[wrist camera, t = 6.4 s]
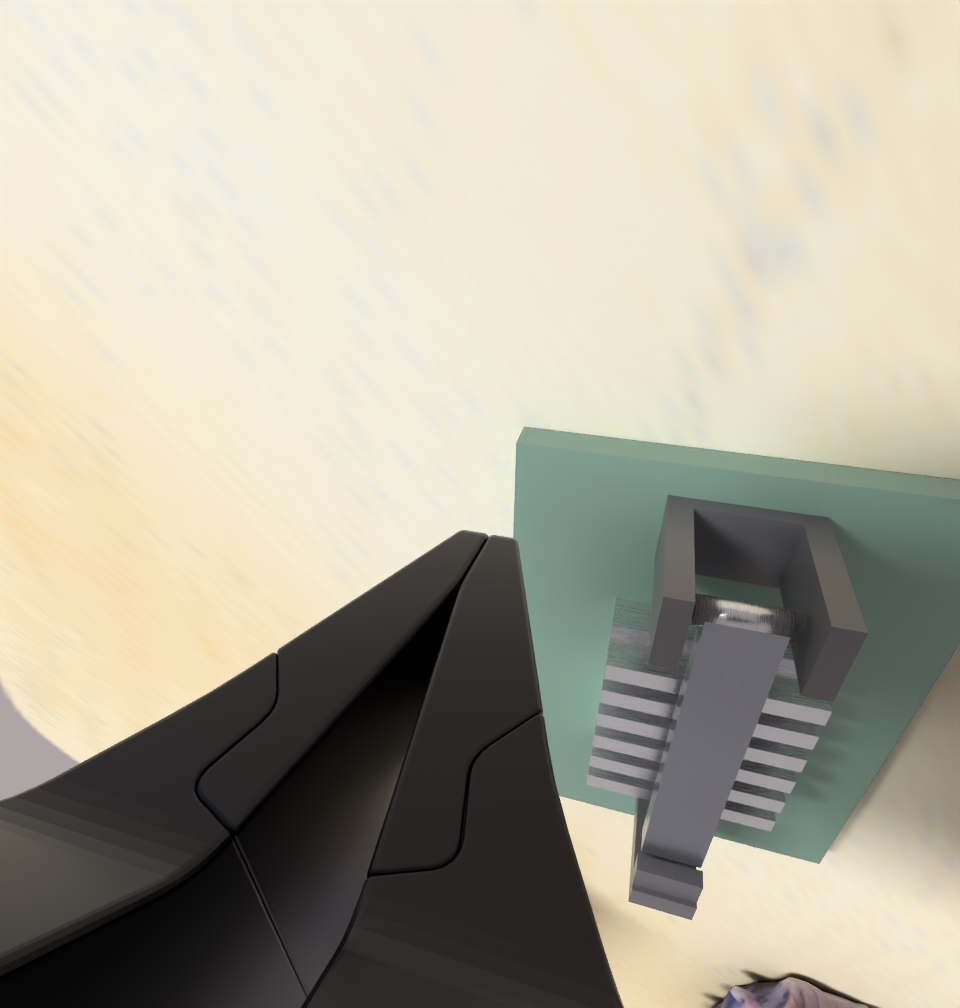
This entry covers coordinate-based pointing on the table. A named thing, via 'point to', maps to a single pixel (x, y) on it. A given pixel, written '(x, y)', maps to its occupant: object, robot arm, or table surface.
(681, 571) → the pivot mount
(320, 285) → the table surface
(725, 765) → the strap
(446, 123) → the table surface
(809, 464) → the board
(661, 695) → the heatsink
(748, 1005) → the cell model
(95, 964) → the robot arm
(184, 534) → the table surface
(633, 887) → the lug
